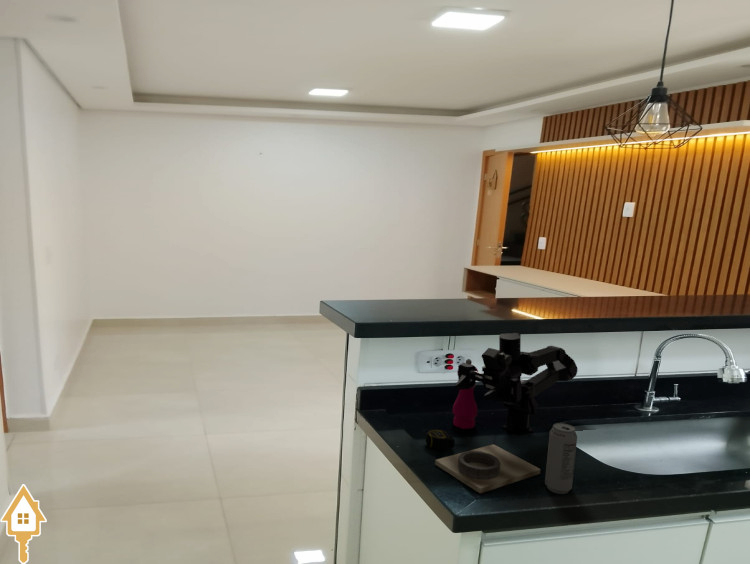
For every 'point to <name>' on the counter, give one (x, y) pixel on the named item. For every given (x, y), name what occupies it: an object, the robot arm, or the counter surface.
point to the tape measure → (439, 440)
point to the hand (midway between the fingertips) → (469, 392)
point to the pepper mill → (465, 407)
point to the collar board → (506, 469)
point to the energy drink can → (561, 458)
